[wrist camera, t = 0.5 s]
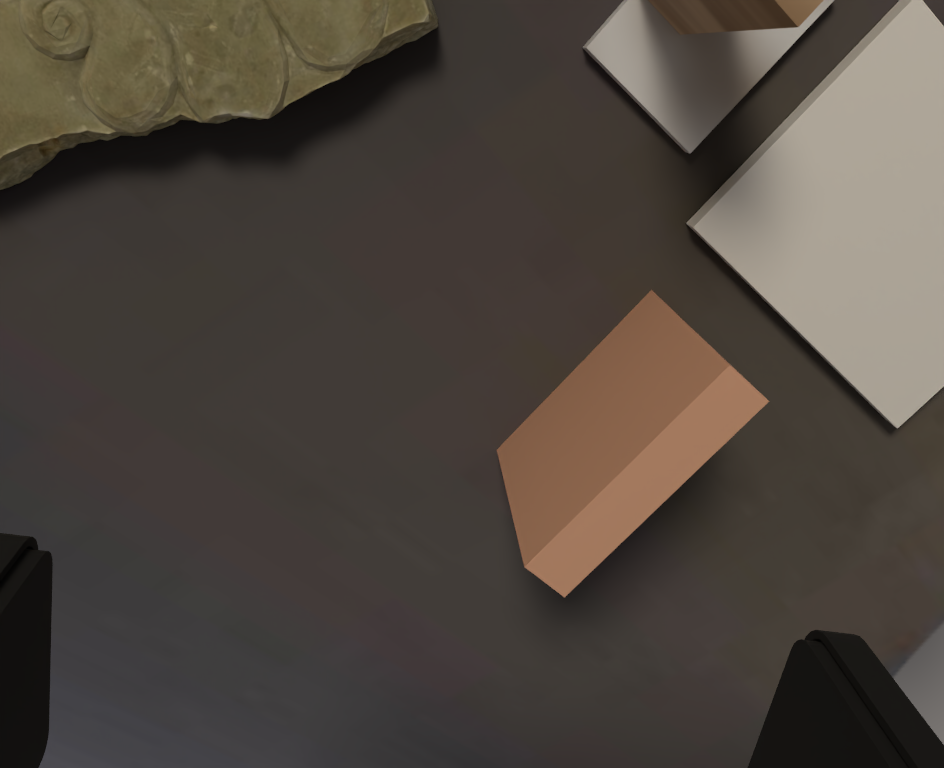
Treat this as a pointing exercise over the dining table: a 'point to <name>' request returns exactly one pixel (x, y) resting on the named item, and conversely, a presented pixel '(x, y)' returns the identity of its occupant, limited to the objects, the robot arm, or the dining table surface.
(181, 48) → the mineral wool slab
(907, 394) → the mat
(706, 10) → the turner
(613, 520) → the terracotta tile
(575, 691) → the dining table surface
